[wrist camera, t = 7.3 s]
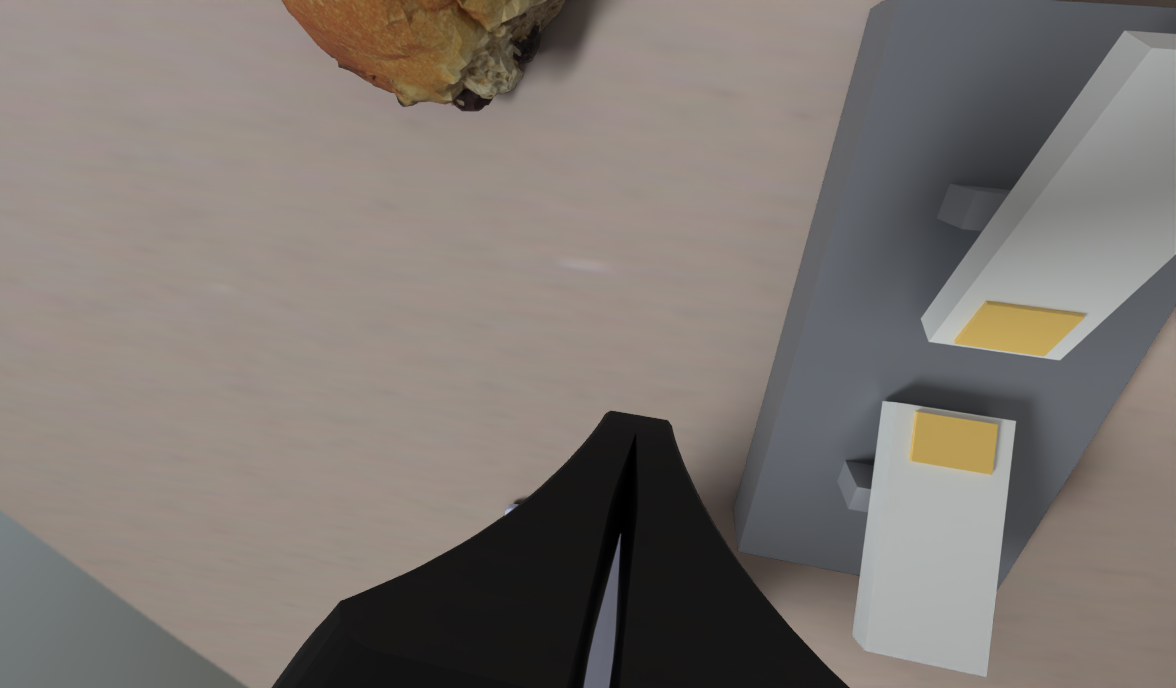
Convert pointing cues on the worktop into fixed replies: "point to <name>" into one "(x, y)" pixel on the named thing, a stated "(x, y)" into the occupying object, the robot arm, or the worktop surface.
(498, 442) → the worktop surface
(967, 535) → the rocker
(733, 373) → the worktop surface
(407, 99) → the bread roll
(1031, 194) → the rocker
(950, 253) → the switch unit
